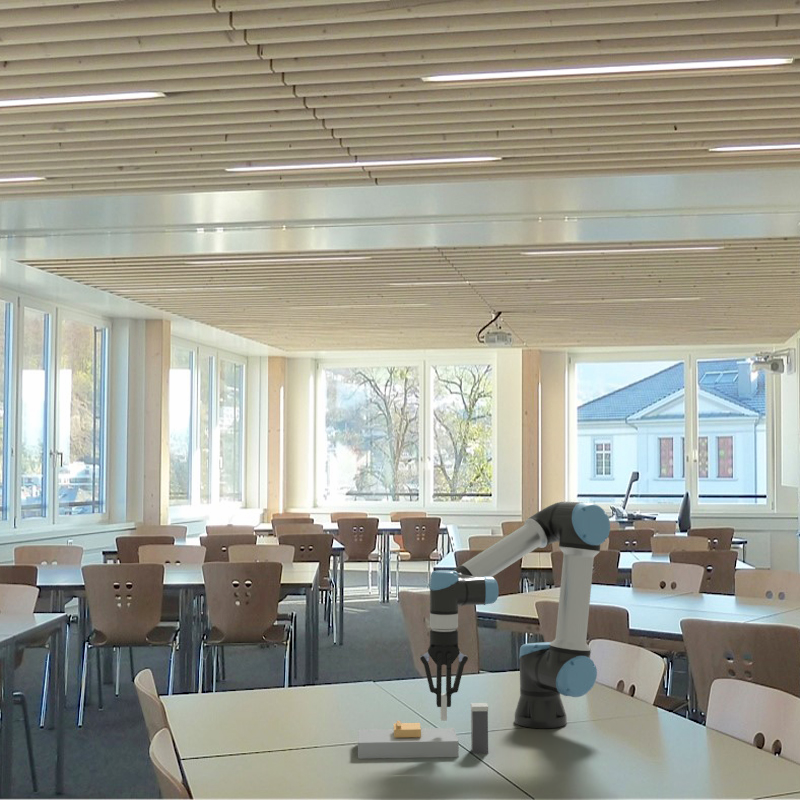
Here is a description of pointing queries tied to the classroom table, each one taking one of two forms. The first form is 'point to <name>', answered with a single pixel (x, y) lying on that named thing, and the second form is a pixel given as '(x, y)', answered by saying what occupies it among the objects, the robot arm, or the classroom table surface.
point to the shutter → (407, 729)
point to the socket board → (407, 744)
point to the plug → (479, 728)
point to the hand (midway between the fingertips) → (443, 719)
